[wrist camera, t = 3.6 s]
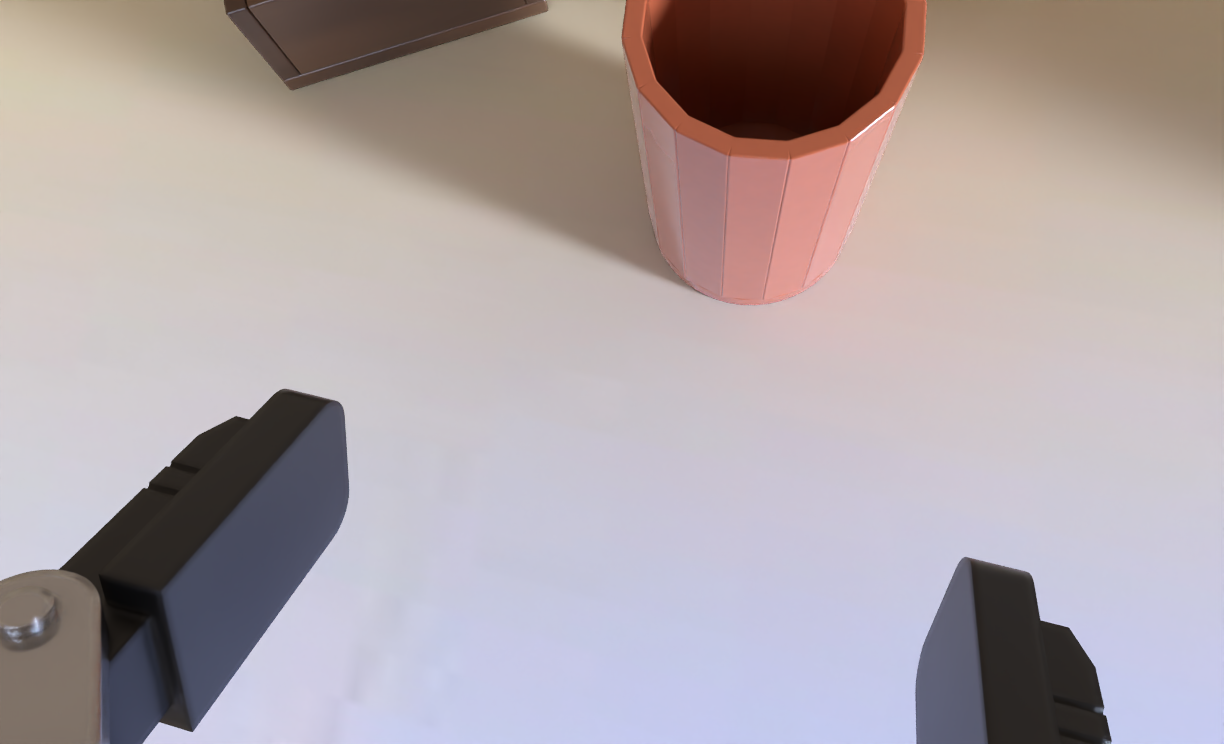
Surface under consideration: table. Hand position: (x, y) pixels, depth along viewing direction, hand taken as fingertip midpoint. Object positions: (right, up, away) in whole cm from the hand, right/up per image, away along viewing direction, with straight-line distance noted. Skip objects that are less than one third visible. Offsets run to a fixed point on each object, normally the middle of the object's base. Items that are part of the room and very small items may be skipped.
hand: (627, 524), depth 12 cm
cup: (+4, +7, +15) cm, 17 cm away
